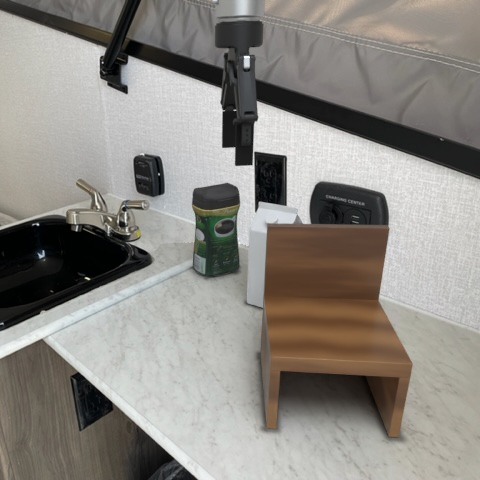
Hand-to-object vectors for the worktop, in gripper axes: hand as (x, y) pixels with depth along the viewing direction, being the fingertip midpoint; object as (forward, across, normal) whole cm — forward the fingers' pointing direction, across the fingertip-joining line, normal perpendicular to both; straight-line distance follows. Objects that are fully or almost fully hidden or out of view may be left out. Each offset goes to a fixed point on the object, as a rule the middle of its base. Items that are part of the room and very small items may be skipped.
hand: (236, 155), depth 85 cm
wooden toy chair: (+27, +28, +8) cm, 40 cm away
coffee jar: (+27, -12, -2) cm, 30 cm away
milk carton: (+28, +3, +7) cm, 28 cm away
